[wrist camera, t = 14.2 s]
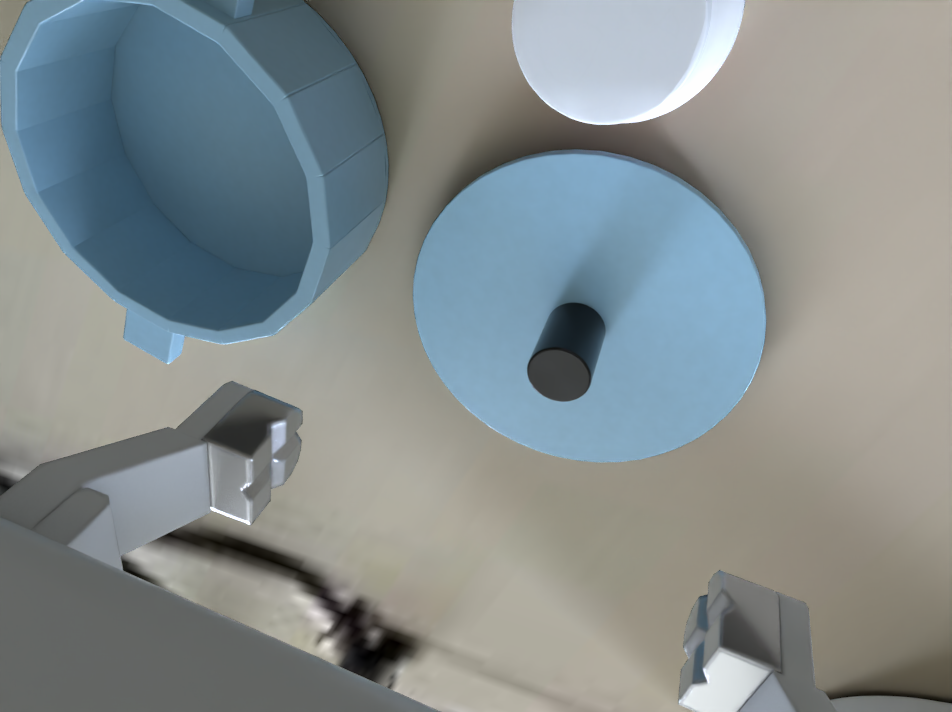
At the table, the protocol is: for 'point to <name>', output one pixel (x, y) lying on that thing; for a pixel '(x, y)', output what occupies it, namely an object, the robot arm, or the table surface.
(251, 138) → the pan
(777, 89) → the table surface
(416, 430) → the table surface
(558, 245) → the pan lid
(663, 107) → the pill bottle
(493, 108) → the table surface
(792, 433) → the table surface
